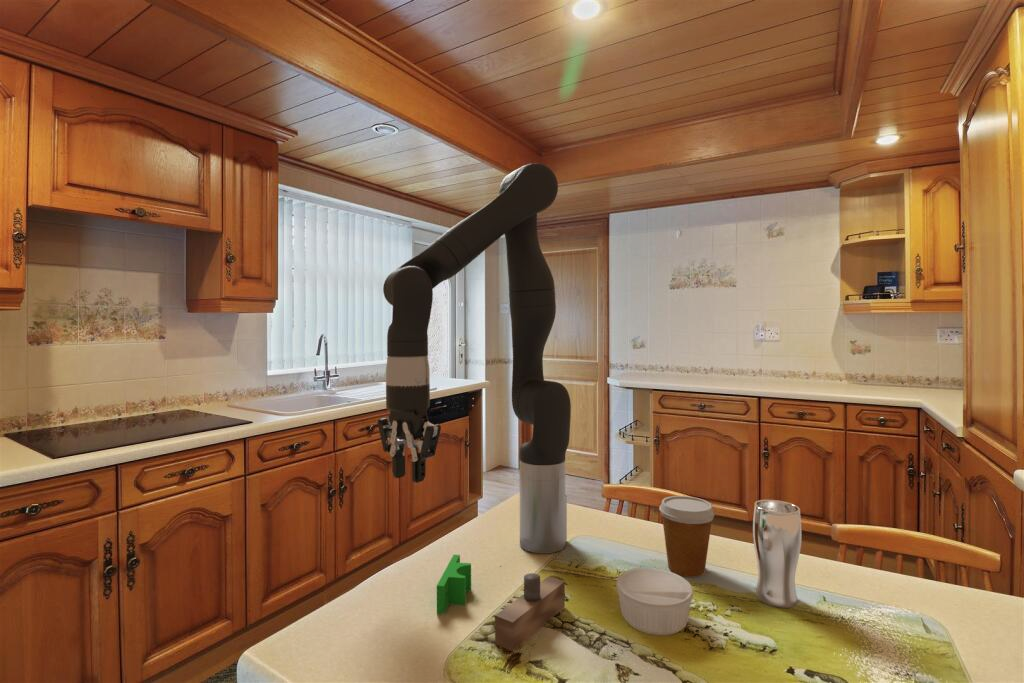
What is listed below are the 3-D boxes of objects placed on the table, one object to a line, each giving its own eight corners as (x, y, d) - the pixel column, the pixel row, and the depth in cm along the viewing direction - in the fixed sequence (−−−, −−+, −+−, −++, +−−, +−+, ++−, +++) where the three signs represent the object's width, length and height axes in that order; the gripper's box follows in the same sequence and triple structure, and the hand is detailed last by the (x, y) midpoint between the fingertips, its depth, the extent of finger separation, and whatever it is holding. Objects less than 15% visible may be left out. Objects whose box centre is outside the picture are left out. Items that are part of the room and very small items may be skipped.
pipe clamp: (460, 617, 79) (460, 587, 79) (436, 615, 79) (436, 585, 79) (474, 581, 90) (474, 554, 90) (453, 579, 91) (453, 553, 90)
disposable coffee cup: (709, 586, 88) (710, 516, 87) (653, 573, 92) (653, 506, 92) (718, 564, 96) (718, 500, 96) (665, 553, 101) (666, 492, 100)
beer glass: (799, 593, 85) (799, 502, 85) (802, 613, 79) (803, 516, 79) (752, 584, 88) (753, 496, 88) (752, 604, 82) (753, 509, 82)
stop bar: (548, 600, 83) (548, 557, 83) (564, 606, 81) (564, 562, 81) (495, 644, 72) (495, 593, 71) (512, 651, 70) (512, 600, 70)
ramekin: (651, 649, 70) (651, 611, 70) (600, 610, 80) (601, 576, 80) (710, 627, 76) (710, 592, 76) (655, 593, 86) (655, 561, 85)
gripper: (452, 382, 90) (453, 481, 90) (396, 378, 98) (397, 468, 98) (421, 386, 84) (422, 491, 84) (364, 381, 92) (365, 477, 92)
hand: (408, 478), depth 91 cm, fingers open, 4 cm apart
